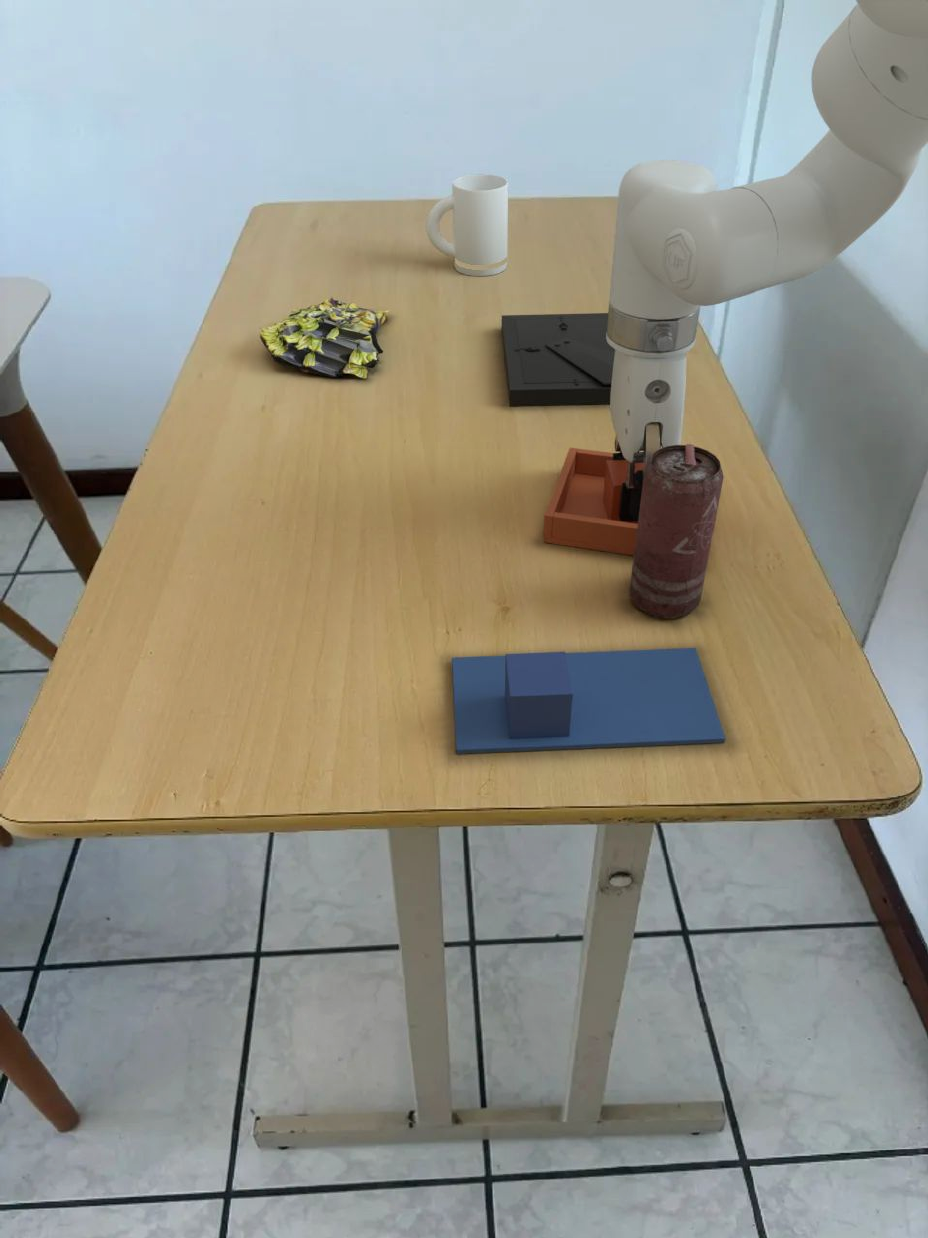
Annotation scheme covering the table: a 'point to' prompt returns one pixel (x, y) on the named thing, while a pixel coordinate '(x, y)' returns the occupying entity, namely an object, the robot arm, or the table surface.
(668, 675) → the blue mat
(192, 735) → the table surface
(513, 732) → the blue block
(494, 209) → the mug
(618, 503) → the terracotta block
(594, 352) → the picture frame
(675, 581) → the can
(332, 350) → the banana patterned fabric
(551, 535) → the terracotta tray
